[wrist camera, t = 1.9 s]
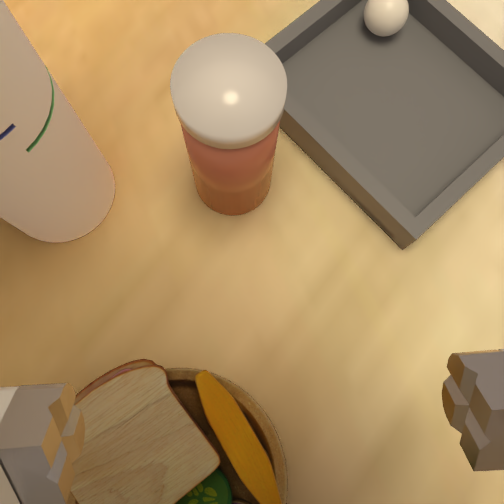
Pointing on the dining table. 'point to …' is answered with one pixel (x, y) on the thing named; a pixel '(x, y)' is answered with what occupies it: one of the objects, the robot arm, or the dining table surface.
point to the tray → (394, 107)
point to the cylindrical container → (45, 149)
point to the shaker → (230, 117)
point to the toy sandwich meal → (175, 441)
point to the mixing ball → (385, 16)
